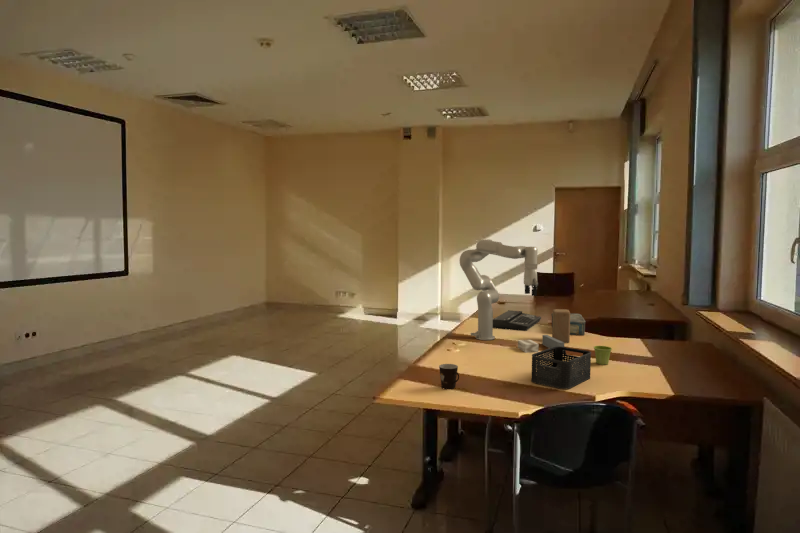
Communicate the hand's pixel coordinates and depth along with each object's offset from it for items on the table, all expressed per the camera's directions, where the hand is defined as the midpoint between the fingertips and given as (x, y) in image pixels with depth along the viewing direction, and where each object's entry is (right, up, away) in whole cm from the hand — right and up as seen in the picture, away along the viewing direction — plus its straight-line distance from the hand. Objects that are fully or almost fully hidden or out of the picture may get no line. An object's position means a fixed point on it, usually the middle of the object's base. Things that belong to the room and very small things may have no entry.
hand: (530, 294), depth 333 cm
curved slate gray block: (+12, -32, -6) cm, 35 cm away
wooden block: (+22, -31, +13) cm, 40 cm away
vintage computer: (+6, -26, +70) cm, 75 cm away
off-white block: (-4, -33, -10) cm, 34 cm away
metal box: (+37, -28, +47) cm, 66 cm away
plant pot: (+29, -35, -41) cm, 61 cm away
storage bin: (-2, -38, -70) cm, 80 cm away
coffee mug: (-58, -39, -83) cm, 108 cm away
